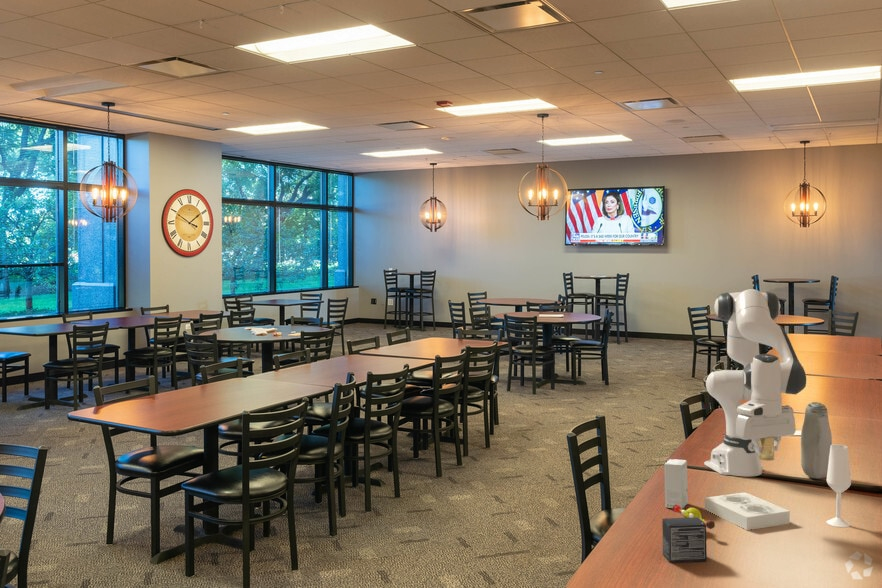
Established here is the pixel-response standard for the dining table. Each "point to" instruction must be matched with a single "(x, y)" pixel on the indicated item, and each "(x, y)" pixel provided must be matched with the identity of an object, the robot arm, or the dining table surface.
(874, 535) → the dining table surface
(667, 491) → the skincare box
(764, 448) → the bushing
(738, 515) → the jig
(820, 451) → the grey bottle
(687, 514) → the toy figure
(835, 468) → the champagne flute
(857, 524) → the dining table surface
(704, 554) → the small box
